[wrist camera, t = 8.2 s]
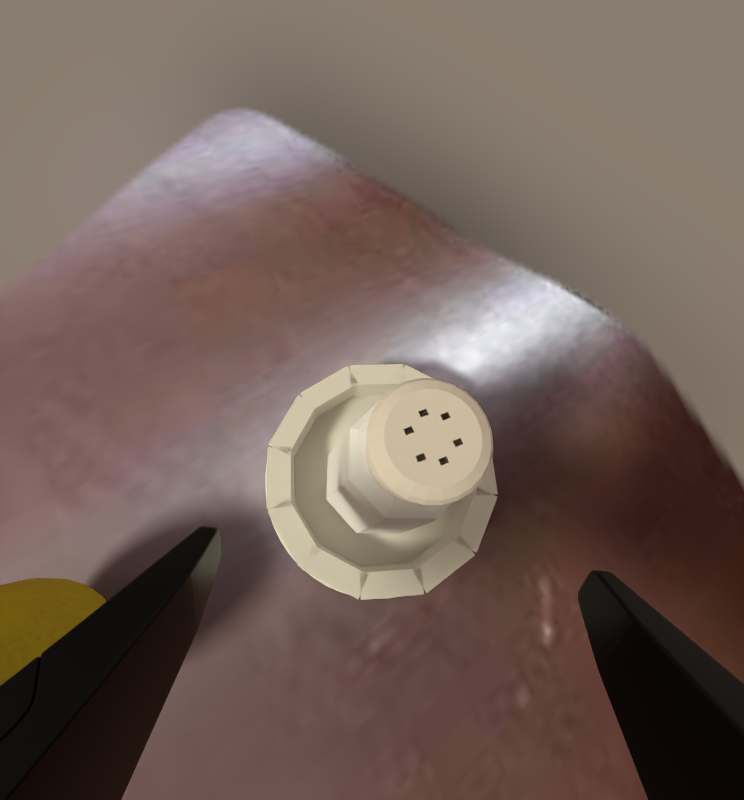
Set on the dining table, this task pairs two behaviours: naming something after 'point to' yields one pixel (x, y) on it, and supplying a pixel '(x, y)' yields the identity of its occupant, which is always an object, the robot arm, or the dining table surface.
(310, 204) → the dining table surface
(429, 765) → the dining table surface
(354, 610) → the dining table surface
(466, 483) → the pepper shaker
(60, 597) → the lemon
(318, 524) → the ring dish
